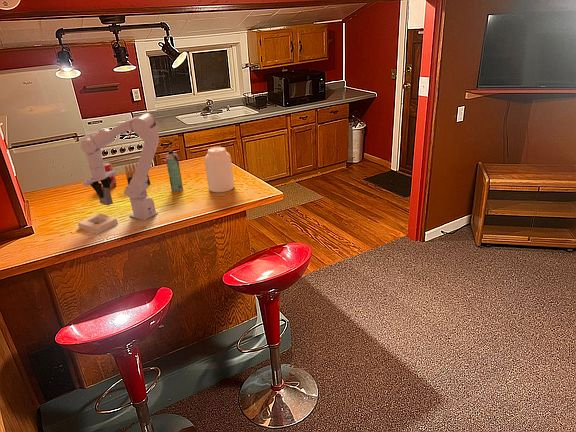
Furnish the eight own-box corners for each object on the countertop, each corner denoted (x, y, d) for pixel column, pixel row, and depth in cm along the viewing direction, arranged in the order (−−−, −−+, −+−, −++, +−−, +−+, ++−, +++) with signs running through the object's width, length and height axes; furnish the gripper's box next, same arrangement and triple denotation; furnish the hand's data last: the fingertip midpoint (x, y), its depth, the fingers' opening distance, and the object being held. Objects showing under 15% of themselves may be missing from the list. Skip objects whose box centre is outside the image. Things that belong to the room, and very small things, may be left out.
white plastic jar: (237, 190, 205) (232, 150, 196) (211, 195, 201) (206, 154, 192) (230, 181, 215) (226, 143, 207) (206, 186, 212) (200, 147, 203)
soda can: (114, 188, 215) (108, 166, 209) (100, 189, 215) (94, 166, 210) (119, 183, 221) (114, 161, 216) (106, 184, 221) (100, 162, 216)
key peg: (105, 201, 186) (101, 185, 183) (113, 203, 183) (109, 188, 180) (100, 203, 184) (96, 187, 181) (107, 205, 182) (104, 190, 178)
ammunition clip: (128, 187, 215) (123, 165, 210) (128, 186, 216) (123, 164, 211) (150, 183, 219) (145, 161, 214) (149, 182, 220) (145, 160, 215)
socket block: (117, 223, 178) (116, 218, 177) (97, 234, 170) (95, 228, 169) (99, 218, 184) (98, 213, 183) (79, 227, 176) (77, 222, 175)
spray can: (184, 187, 211) (177, 148, 203) (180, 191, 207) (174, 152, 198) (173, 187, 212) (166, 148, 203) (170, 191, 207) (162, 152, 198)
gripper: (105, 159, 184) (112, 188, 190) (75, 170, 173) (83, 200, 179) (116, 161, 180) (123, 191, 186) (85, 172, 170) (94, 203, 175)
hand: (104, 196), depth 182 cm, fingers closed on key peg, 3 cm apart
